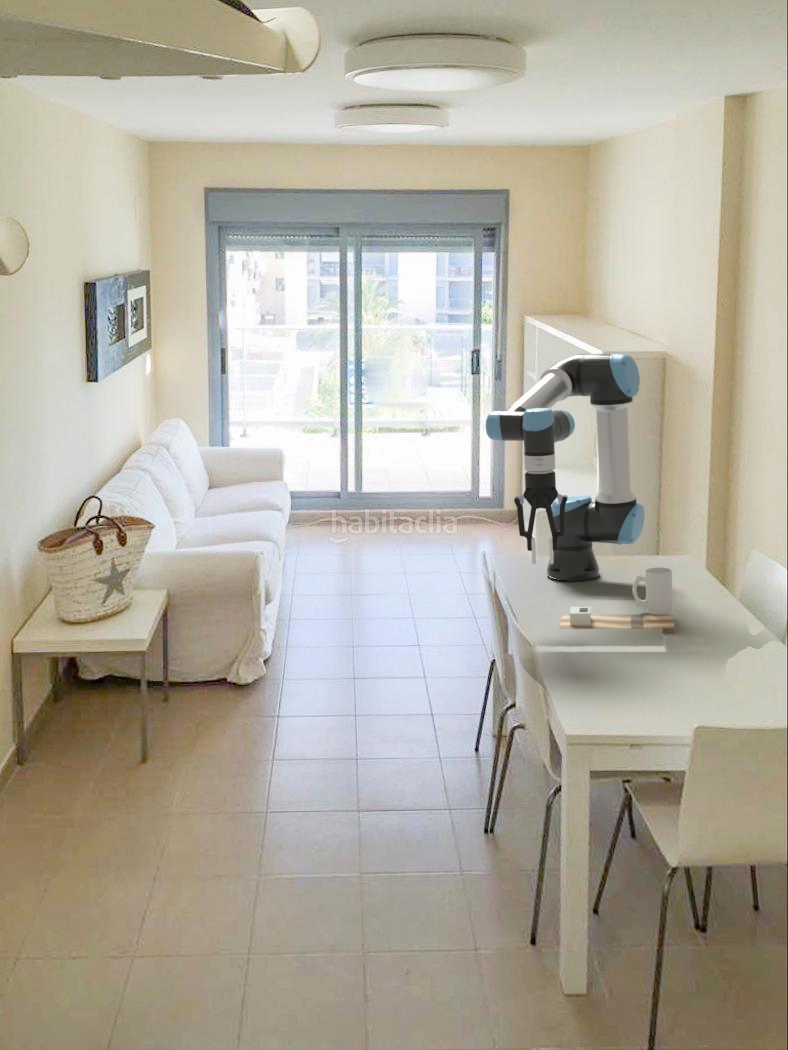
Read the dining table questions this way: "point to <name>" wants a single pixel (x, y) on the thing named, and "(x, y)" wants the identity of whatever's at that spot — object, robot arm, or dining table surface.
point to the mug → (656, 590)
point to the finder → (580, 616)
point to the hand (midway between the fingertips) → (543, 562)
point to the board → (624, 622)
